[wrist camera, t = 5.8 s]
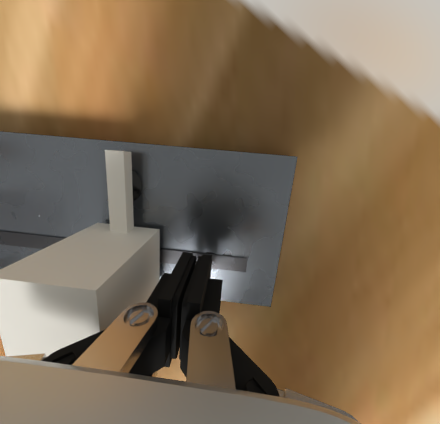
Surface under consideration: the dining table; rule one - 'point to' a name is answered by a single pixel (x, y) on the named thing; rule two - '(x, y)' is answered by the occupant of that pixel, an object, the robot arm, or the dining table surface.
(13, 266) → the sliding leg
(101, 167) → the plate
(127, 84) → the dining table surface
